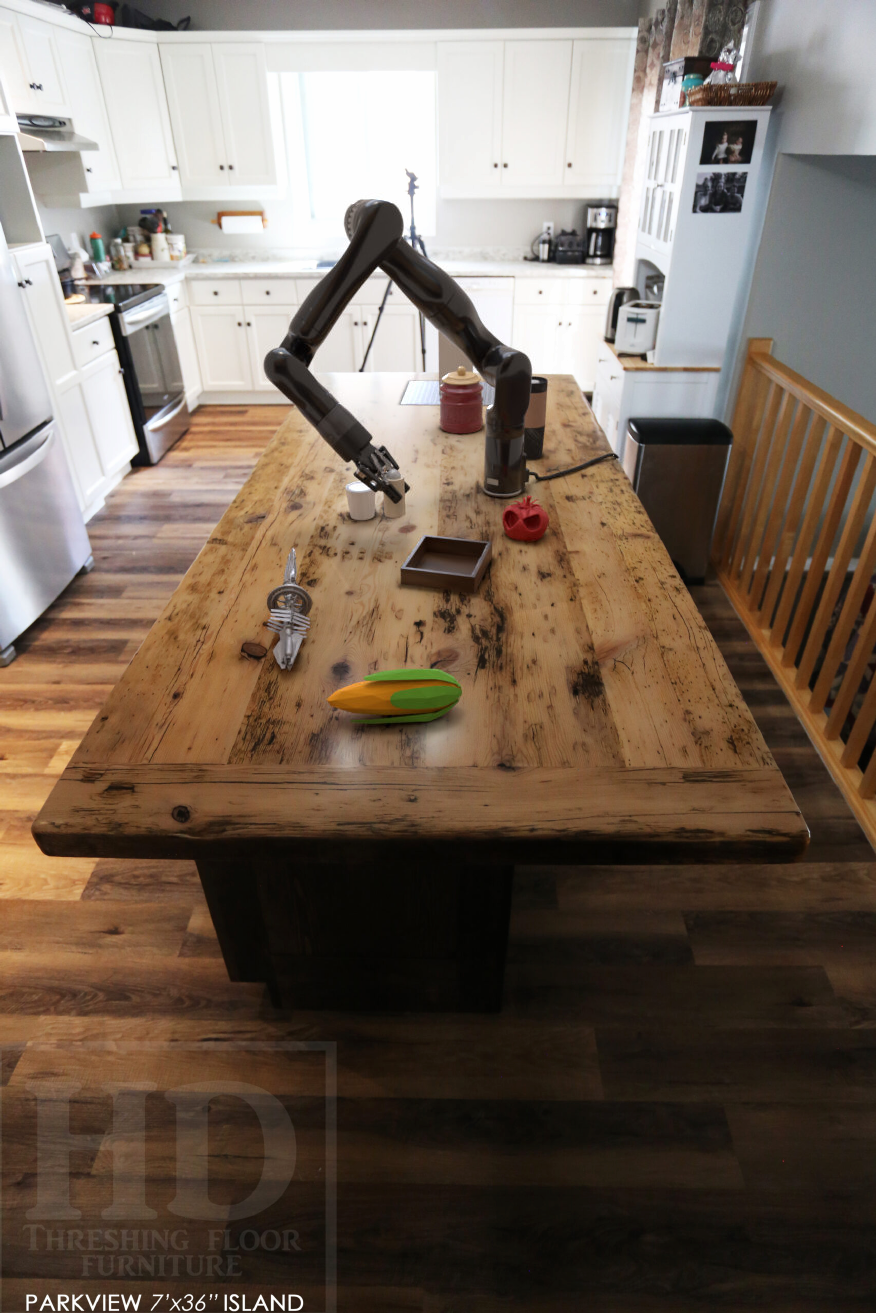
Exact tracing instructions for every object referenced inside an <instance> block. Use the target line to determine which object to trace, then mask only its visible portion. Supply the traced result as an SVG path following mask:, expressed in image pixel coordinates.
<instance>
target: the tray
mask: <svg viewBox="0 0 876 1313" xmlns="http://www.w3.org/2000/svg"><path fill="white" fill-rule="evenodd" d="M492 558H493V541H488V540H487V541H486V540H477V539H468V538H458V537H450V536H440V535H432V534H422V536H421V537H420V538H419V540H418V541H417V543H416V545H415V546H414V548H413V549H412V551H411V552H410V553H409V555H408V556H407V558H406V560H404V563H403V564H402V566H401V567H399V569H400V571H399V572H400V585H403V586H404V585H405V586H411V587H412V586H413V587H419V588H427V589H434V590H443V591H453V592H459V593H466V594H475V593H476V591H477V590H478V587H479V585H480V583H481V581H482V578H483V577H484V574H485V572H486V571H487V568H488V567H489V564H490V562H491V560H492Z"/></svg>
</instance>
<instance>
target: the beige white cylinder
mask: <svg viewBox="0 0 876 1313" xmlns="http://www.w3.org/2000/svg"><path fill="white" fill-rule="evenodd" d="M372 484H373V485H374V486H375V484H374V483H372ZM345 494H346V499H347V500H346V501H347V505H348V506H347V507H348V511H349V517H350V518H351V519H353V520H355V521H366V520H370V519H373V518H374V517H375V514H376V493H375V492H374V491H372V490H371V489H370V488H369V487H367V486H366V485H365V484H364V483H362V482H361V481H360V480H358V481H353V482H350V483H348V484H346V485H345Z"/></svg>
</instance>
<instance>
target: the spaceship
mask: <svg viewBox="0 0 876 1313" xmlns="http://www.w3.org/2000/svg"><path fill="white" fill-rule="evenodd" d="M284 568H285V570H284V573H283V582H282V584H281V585H279V586H277V587H275V588H273V589H272V590H270V592H269V593H268V595H267V596H266V597H267V598H266V607H267V609H268V611H269V613H270V617H269V618H267V621H268V622H267V624H266V625H267V628H266V629H267V630H268V631H271V632H274V633H276V634H279V641H278V642H277V643H276V645H275V647H274V648H273V649H272V653H273V655H274V657H275V660H276V662H277V664H278V665H279V666H280V669H281V670H283V669H285V670H286V669H287V670H288V671H291V669H292V668H293V666H294V663H295V661H296V658H297V655H298V652H299V650H300V646H301V644H302V642H303V639H307V631H306V630H307V629H311V627H310V626H309V625H310V624H311V622H310V620H311V619H310V617H307V616H308V615H309V613H310V612H311V611H312V608H313V599H312V597H311V595H310V594H309V592H308V591H307V590H306V589H305V588H303V587H302V586H299V585H298V581H297V575H298V574H297V573H298V572H297V571H298V570H297V569H298V567H297V556H296V550H295V548H294V547H292V548H291V550H290V552H289V553H288V555H287V559H286V563H285V567H284ZM281 597H283V599H284V600H283V599H280V598H281ZM278 602H279V603H282V604H281V605H280V606H279V604H278ZM298 602H301V604H300V603H298ZM297 607H298V608H297ZM278 621H282V622H283V623H281V622H278ZM294 625H295V626H294ZM296 625H298V626H296Z"/></svg>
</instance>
